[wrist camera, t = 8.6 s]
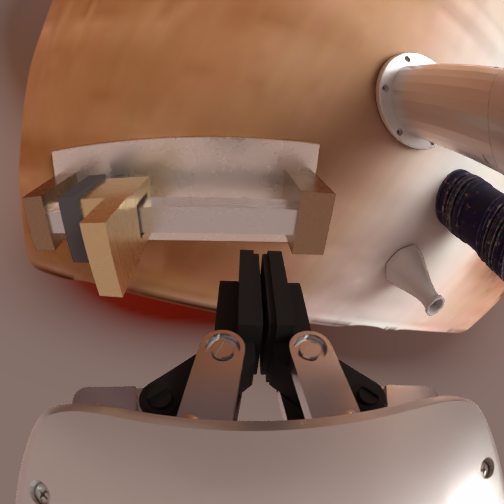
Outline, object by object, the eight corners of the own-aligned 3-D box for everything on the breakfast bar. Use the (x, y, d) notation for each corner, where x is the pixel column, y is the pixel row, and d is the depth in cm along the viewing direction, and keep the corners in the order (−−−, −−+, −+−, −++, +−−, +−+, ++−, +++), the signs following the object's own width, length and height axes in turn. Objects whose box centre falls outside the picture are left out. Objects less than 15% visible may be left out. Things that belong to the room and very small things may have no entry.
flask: (390, 290, 40) (418, 333, 32) (378, 261, 37) (410, 307, 28) (424, 266, 38) (456, 306, 30) (416, 235, 35) (454, 275, 26)
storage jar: (481, 178, 30) (547, 222, 17) (462, 231, 35) (518, 284, 22) (447, 160, 29) (525, 204, 16) (426, 221, 34) (490, 282, 21)
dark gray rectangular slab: (105, 173, 24) (75, 196, 18) (113, 229, 27) (90, 262, 22) (89, 175, 23) (57, 198, 18) (98, 230, 27) (73, 261, 21)
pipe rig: (317, 143, 27) (347, 160, 20) (302, 238, 34) (321, 280, 27) (56, 150, 25) (13, 170, 17) (71, 235, 31) (40, 272, 24)
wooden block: (149, 174, 24) (105, 222, 15) (154, 229, 27) (122, 297, 18) (103, 176, 23) (46, 224, 14) (111, 230, 27) (68, 292, 18)
